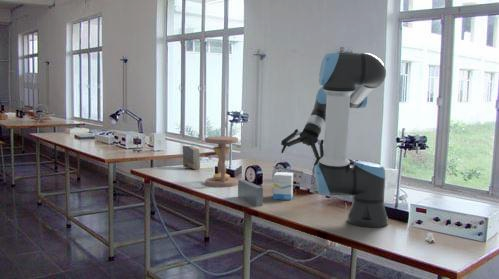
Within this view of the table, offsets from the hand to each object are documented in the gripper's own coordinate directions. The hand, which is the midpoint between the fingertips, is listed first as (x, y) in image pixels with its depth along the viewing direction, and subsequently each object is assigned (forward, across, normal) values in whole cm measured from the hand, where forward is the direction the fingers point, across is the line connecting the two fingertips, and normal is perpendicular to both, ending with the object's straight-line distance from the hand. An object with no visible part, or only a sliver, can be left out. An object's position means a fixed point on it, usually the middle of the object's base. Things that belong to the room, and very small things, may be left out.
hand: (295, 165), depth 203 cm
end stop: (+17, +14, -17) cm, 28 cm away
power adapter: (+21, -56, +28) cm, 66 cm away
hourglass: (+4, +37, -49) cm, 61 cm away
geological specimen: (-10, +68, -88) cm, 112 cm away
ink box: (+7, +1, -24) cm, 25 cm away
